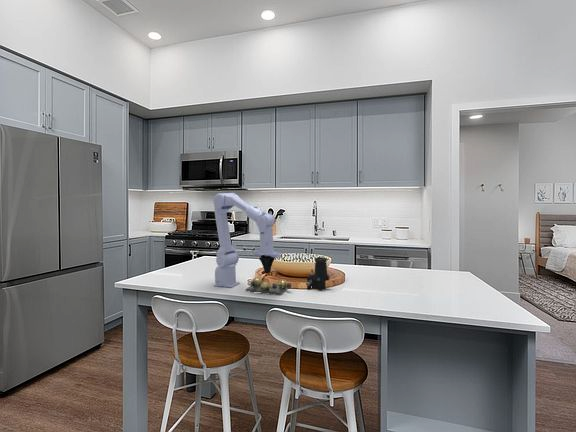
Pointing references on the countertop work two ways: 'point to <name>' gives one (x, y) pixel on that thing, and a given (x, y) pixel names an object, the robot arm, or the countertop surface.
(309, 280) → the scope
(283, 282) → the foot screw
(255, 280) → the foot screw
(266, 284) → the footscrew right
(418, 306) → the countertop surface
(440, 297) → the countertop surface
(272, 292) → the leveling base
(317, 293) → the countertop surface
